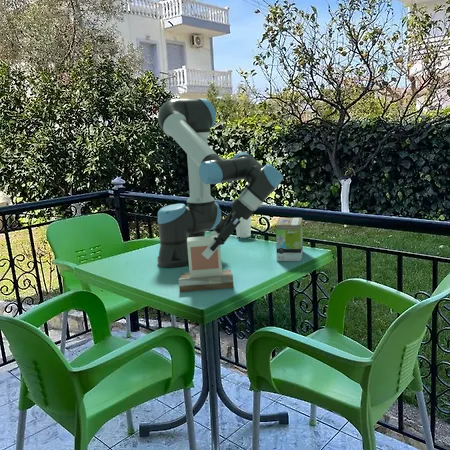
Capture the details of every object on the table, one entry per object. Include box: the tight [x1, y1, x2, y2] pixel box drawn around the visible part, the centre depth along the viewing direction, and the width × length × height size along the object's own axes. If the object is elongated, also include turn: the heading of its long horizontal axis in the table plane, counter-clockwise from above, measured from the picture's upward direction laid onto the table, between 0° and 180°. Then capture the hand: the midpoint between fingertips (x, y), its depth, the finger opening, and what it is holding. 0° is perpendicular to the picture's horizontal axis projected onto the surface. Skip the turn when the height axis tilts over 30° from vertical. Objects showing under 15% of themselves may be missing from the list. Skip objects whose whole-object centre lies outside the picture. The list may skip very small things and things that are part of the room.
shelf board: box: [178, 269, 234, 293], centre depth 155 cm, size 14×18×4 cm
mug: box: [188, 231, 206, 238], centre depth 209 cm, size 8×12×10 cm
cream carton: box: [187, 235, 223, 278], centre depth 153 cm, size 6×11×14 cm, turn 93°
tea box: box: [275, 217, 304, 262], centre depth 179 cm, size 15×10×15 cm
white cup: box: [235, 215, 252, 239], centre depth 219 cm, size 8×8×10 cm
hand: (204, 251), depth 152 cm, fingers open, 13 cm apart
